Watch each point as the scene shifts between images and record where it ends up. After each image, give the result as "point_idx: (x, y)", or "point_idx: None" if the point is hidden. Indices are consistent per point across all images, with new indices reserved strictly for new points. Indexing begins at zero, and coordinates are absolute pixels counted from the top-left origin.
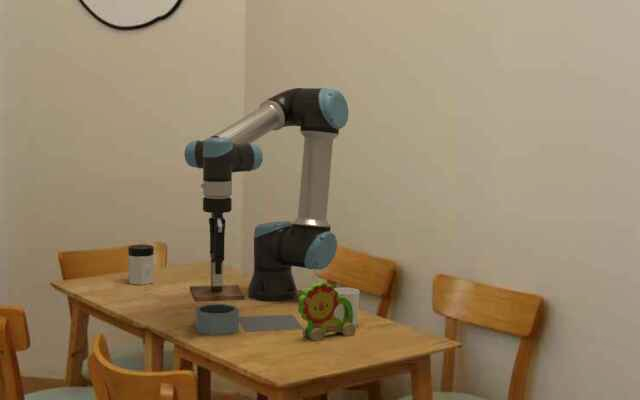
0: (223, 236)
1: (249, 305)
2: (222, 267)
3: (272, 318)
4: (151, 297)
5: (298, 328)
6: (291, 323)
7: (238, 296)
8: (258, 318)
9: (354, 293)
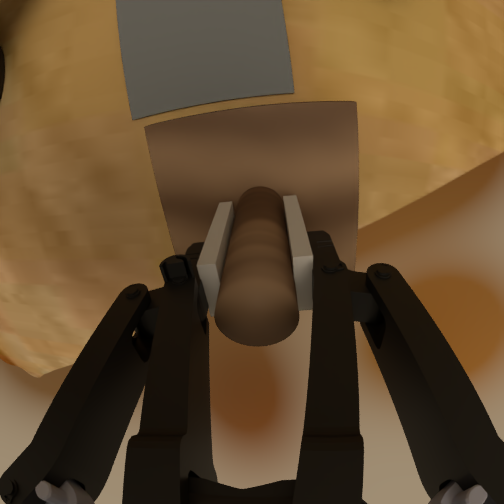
0: (480, 417)
1: (27, 111)
2: (307, 239)
3: (148, 25)
4: (31, 296)
5: None
6: None
7: (357, 127)
8: (147, 60)
9: None
